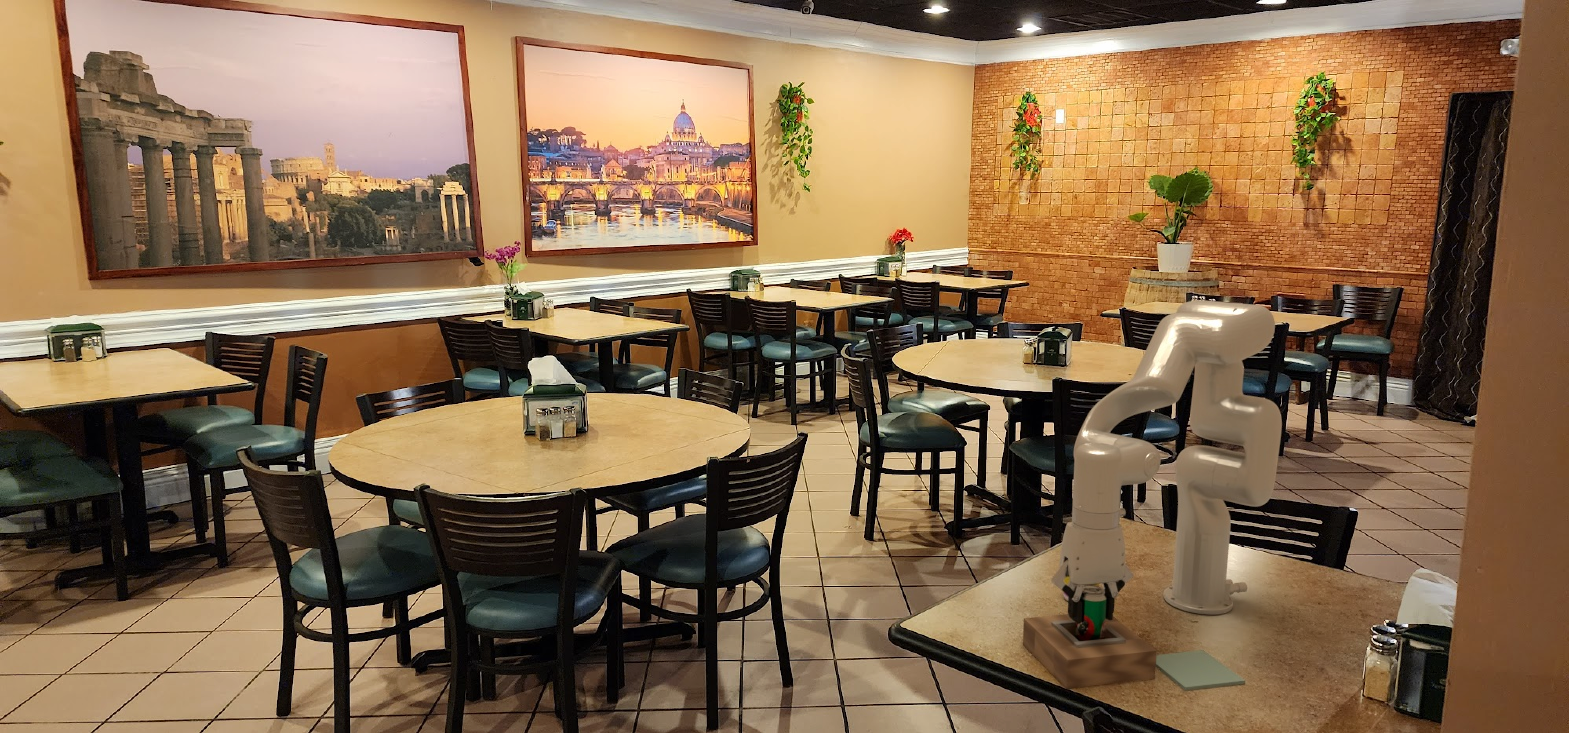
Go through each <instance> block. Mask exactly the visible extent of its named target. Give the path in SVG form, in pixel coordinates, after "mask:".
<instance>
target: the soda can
mask: <svg viewBox="0 0 1569 733" xmlns="http://www.w3.org/2000/svg"><path fill="white" fill-rule="evenodd" d="M1080 601H1082V603H1083V606H1082V622H1081V623H1080V624H1077V623H1076V622H1075V633H1074V637H1075V638H1076V639H1077V640H1078V641H1079V642H1080V641H1090V640H1100V639H1105V635H1106V616H1107V596H1106V594H1105V590H1104V589H1103V587H1101V586H1099V587H1098V586H1094V585H1084V587H1083V590H1082V593H1081V596H1080Z"/></svg>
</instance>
